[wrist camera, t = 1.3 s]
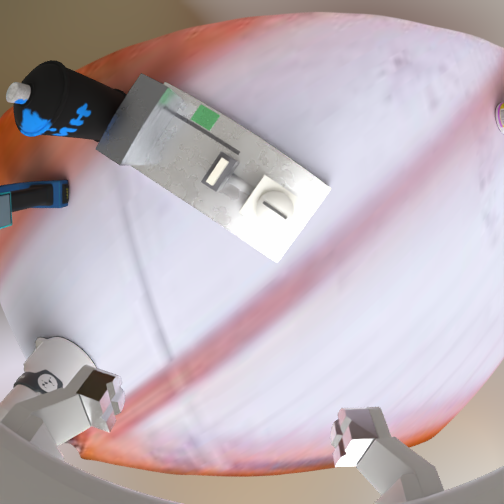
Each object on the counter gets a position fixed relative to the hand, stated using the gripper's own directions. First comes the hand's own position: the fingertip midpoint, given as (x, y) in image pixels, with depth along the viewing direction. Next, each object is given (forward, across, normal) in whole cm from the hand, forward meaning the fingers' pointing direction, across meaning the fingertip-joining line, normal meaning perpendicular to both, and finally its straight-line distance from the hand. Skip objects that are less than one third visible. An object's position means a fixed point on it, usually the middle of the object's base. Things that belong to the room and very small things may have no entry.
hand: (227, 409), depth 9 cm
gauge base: (+31, +6, -7) cm, 32 cm away
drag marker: (+29, +5, -7) cm, 30 cm away
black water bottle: (+31, +24, -14) cm, 41 cm away
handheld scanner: (+30, +36, -2) cm, 47 cm away
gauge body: (+29, 0, -4) cm, 30 cm away
